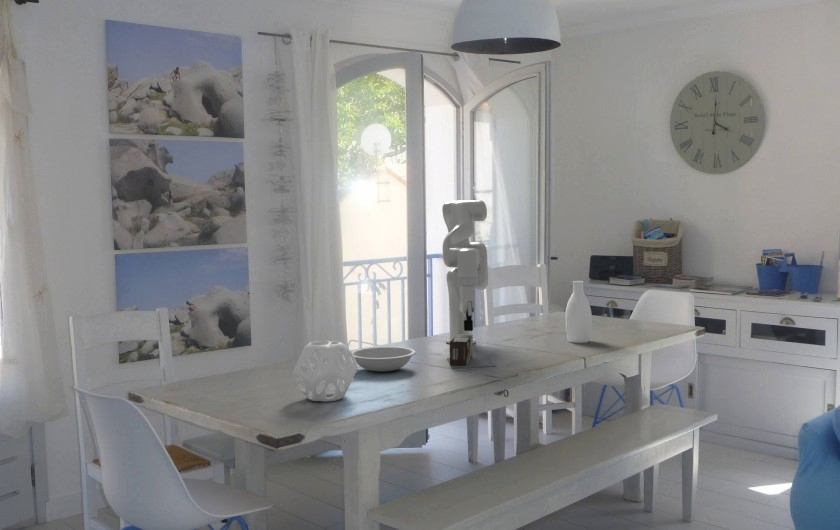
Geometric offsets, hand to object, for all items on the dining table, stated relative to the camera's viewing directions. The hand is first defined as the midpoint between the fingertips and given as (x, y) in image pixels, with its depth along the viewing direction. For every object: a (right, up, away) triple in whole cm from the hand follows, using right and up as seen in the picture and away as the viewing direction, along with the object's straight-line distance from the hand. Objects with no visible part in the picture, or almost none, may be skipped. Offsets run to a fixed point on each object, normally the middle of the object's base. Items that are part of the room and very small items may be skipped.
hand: (468, 330), depth 322 cm
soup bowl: (-32, -13, -15) cm, 38 cm away
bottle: (+49, -8, +38) cm, 62 cm away
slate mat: (+1, -12, -5) cm, 13 cm away
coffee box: (-1, -6, +4) cm, 7 cm away
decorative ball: (-47, -17, -57) cm, 76 cm away
